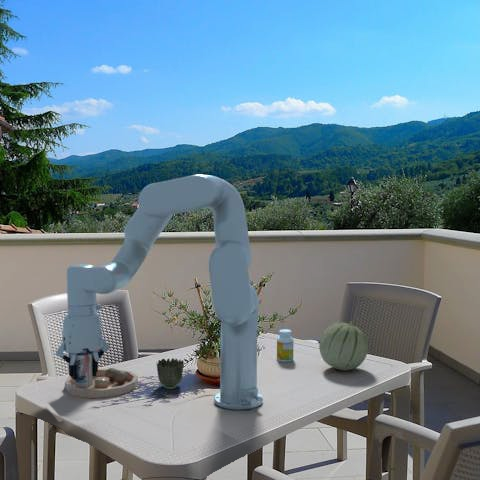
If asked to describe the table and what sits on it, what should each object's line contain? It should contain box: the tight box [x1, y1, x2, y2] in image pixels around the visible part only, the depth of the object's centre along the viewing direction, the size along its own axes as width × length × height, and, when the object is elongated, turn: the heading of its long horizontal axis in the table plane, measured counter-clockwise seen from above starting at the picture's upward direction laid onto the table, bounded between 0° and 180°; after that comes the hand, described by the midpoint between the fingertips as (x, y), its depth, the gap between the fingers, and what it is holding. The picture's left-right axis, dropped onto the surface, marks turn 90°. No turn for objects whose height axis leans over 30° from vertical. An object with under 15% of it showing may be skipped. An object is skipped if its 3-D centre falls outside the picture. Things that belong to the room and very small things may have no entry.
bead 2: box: [114, 371, 127, 384], centre depth 170 cm, size 4×4×4 cm
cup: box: [155, 357, 185, 390], centre depth 168 cm, size 8×7×8 cm
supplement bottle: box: [276, 328, 294, 363], centre depth 198 cm, size 5×5×10 cm
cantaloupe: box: [318, 320, 369, 372], centre depth 187 cm, size 15×15×15 cm
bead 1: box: [105, 367, 117, 381], centre depth 173 cm, size 4×4×4 cm
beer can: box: [75, 347, 93, 388], centre depth 165 cm, size 5×5×12 cm
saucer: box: [64, 368, 139, 399], centre depth 168 cm, size 19×19×3 cm
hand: (83, 376), depth 165 cm, fingers closed on beer can, 4 cm apart
